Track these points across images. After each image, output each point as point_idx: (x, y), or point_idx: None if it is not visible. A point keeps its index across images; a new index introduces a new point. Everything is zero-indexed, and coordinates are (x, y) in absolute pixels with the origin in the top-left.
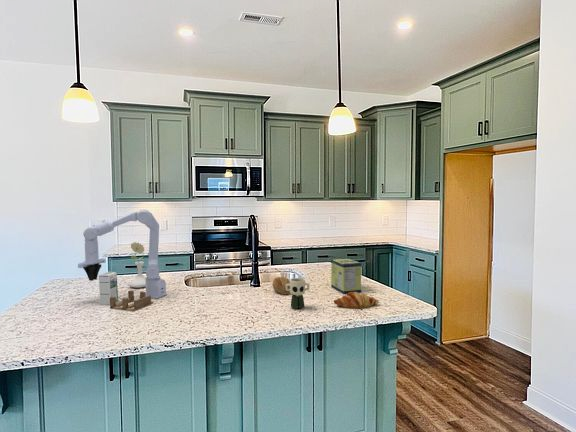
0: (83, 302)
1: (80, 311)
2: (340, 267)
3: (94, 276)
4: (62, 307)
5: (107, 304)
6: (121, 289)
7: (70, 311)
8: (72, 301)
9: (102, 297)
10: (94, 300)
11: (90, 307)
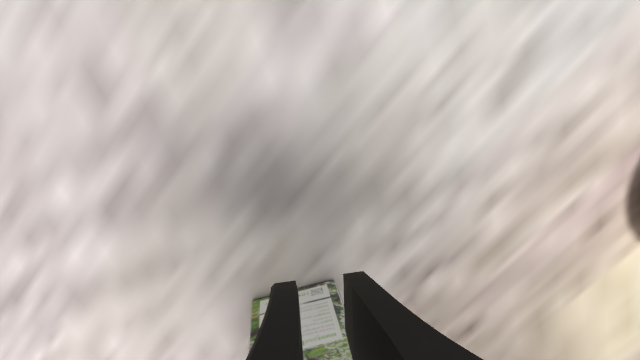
0: (227, 146)
1: (64, 327)
2: None
3: (361, 348)
4: (30, 107)
5: None
6: (615, 110)
7: (15, 269)
8: (201, 17)
9: None
10: (306, 180)
11: (166, 305)
